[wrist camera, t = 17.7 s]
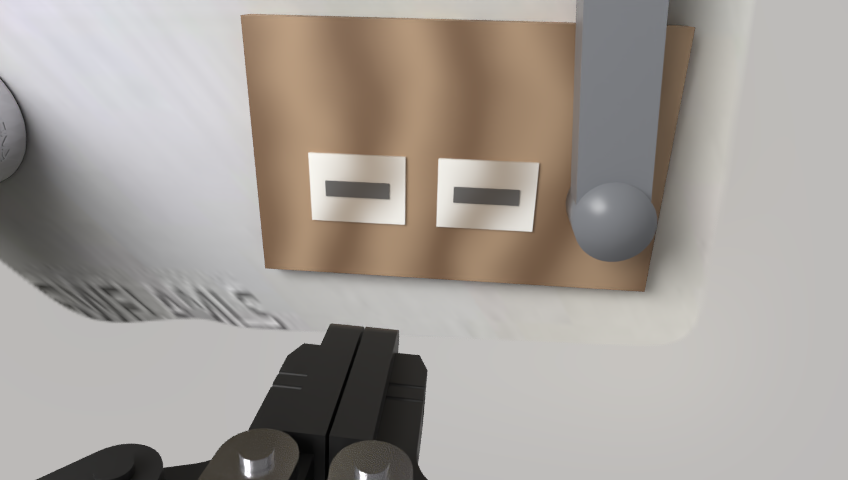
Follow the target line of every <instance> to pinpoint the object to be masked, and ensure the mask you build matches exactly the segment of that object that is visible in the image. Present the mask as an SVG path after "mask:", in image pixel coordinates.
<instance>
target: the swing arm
mask: <svg viewBox="0 0 848 480" xmlns="http://www.w3.org/2000/svg"><path fill="white" fill-rule="evenodd" d="M668 6H669V0H577V4H576V35H575V67H574V98H573V130H572V161H571V187H570V189H569V191H568V194H567V197H566V212H567V215H568V218H569V221H570V223H571V226H572V229H573V232H574V235H575V238H576V240H577V242H578V244H579V246H580V247H581V249H582V250H583V251H584V252H585V253H587V254H588V255H589V256H591V257H593V258H595V259H597V260H601V261H606V262H618V261H624V260H627V259H630V258H632V257H634V256H636V255H638V254H639V253H640V252H642V251H643V250H644V249H645V248H646V247H647V246H648V245H649V244H650V242H651V241H652V239H653V237H654V235H655V232H656V229H657V214H656V210H655V208H654V206H653V204H652V203H651V198H652V187H653V175H654V164H655V153H656V141H657V130H658V119H659V108H660V96H661V85H662V74H663V62H664V51H665V40H666V29H667V17H668Z"/></svg>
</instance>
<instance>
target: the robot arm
mask: <svg viewBox="0 0 848 480" xmlns="http://www.w3.org/2000/svg"><path fill="white" fill-rule="evenodd" d="M25 150H26V131H25V124H24V120H23V117H22V114H21V111H20V109H19V106H18V104H17V103H16V101H15V99H14V97H13V95H12V94H11V92H10V91H9V89H8V88H7V87H6V86H5V84H4V83H3V82H2V80H1V79H0V182H1V181H3V180H5V179H7V178H8V177H9V176H11V175H12V174H13V173H14V172H15V171H16V170H17V168H18V167H19V165H20V164H21V162H22V160H23V156H24V153H25ZM398 345H399V330H391V329H382V328H372V327H366V328H365V329H364V327H361V326H351V325H341V324H330V326H329V328H328V330H327V332H326V334H325V337H324V339H323V341H322V343H321V345H313V344H305V343H304V344H303V345H301V346H300V347H299V348H297V349H296V350H295V351H293V352H292V353H291V354H289V355H288V356H287V358H286V360H285V362H284V364H283V365H282V367H281V369H280V371H279V374H278V375H277V377H276V379H275V380H274V382H273V386H272V387H271V388H270V390H269V392H268V394H267V396H266V398H265V399H264V401H263V403H262V406H261V407H260V409H259V411H258V413H257V415H256V416H255V418H254V420H253V422H252V424H251V426H250V428H249V430H248V431H245V432H242V433H239V434H237V435H235V436H233V437H232V438H230V439H228V440H227V441H226V442H225V443H224V444H222V446H221V447H220V448H219V449H218V450H217V452H216V453H215V455H214V456H213V458H212V459H211V460H209V461H206V462H201V463H197V464H189V465H181V466H174V467H166V468H163V462H162V459H161V456H160V455H159V453H158V452H156V451H155V450H154V449H152V448H151V447H148V446H145V445H140V444H121V445H116V446H112V447H109V448H105V449H103V450H100V451H98V452H96V453H93V454H91V455H89V456H87V457H85V458H82V459H81V460H78V461H76V462H74V463H72V464H70V465H67V466H65V467H63V468H61V469H58V470H56V471H54V472H52V473H50V474H48V475H46V476H43V477H41V478H39V479H37V480H427V479H426V477H424V475H423V474H422V472H421V470H420V468H419V466H418V459H419V451H420V444H421V435H422V426H423V415H424V404H425V392H426V381H427V369H426V367H425V365H424V363H423V361H422V359H421V357H420V356H419V355H411V354H400V353H398Z"/></svg>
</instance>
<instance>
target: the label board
mask: <svg viewBox="0 0 848 480" xmlns="http://www.w3.org/2000/svg"><path fill="white" fill-rule="evenodd" d="M241 24H242V34H243V44H244V55H245V65H246V75H247V85H248V96H249V106H250V116H251V126H252V137H253V147H254V157H255V167H256V177H257V188H258V198H259V208H260V218H261V229H262V239H263V249H264V259H265V268H269V269H285V270H302V271H318V272H334V273H350V274H367V275H383V276H399V277H415V278H431V279H448V280H464V281H480V282H496V283H513V284H529V285H545V286H561V287H577V288H594V289H610V290H626V291H642V292H644V291H645V286H646V281H647V276H648V271H649V265H650V260H651V255H652V250H653V245H654V239H655V235H654V237H653V239H652V241H651V242H650V244H649V245H648V246H647V247H646V248H645V249H644V250H643V251H642V252H640V253H639V254H638V255H636V256H634V257H632V258H630V259H627V260H624V261H618V262H606V261H601V260H597V259H595V258H593V257H591V256H589V255H588V254H587V253H585V252H584V251H583V250H582V249H581V247H580V246H579V244H578V242H577V240H576V238H575V235H574V232H573V229H572V226H571V223H570V221H569V218H568V215H567V212H566V197H567V194H568V191H569V189H570V187H571V161H572V130H573V98H574V67H575V35H576V23H567V22H529V21H492V20H454V19H416V18H379V17H341V16H304V15H266V14H247V15H241ZM694 31H695V27H690V26H679V25H667V29H666V40H665V51H664V62H663V74H662V85H661V96H660V108H659V119H658V130H657V141H656V153H655V164H654V175H653V187H652V198H651V203H652V204H653V206H654V208H655V210H656V214H657V224H658V218H659V213H660V208H661V203H662V198H663V192H664V187H665V182H666V177H667V172H668V166H669V161H670V156H671V151H672V146H673V140H674V135H675V130H676V125H677V120H678V114H679V109H680V104H681V99H682V94H683V88H684V83H685V78H686V73H687V67H688V62H689V57H690V52H691V47H692V41H693V36H694ZM655 234H656V232H655Z"/></svg>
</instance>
